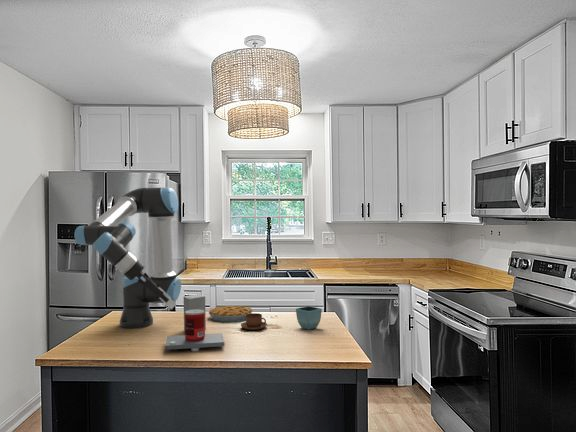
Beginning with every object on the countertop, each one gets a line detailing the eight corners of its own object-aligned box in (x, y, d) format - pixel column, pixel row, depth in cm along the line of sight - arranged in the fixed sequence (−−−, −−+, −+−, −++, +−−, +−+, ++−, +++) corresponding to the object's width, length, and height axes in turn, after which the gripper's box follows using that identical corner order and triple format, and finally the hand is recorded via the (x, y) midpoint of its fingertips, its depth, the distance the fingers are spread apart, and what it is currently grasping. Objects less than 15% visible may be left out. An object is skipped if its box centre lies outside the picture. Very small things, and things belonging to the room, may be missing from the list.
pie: (240, 324, 224) (240, 314, 224) (200, 321, 231) (200, 310, 231) (259, 315, 244) (259, 305, 244) (221, 312, 252) (221, 302, 252)
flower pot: (308, 331, 209) (308, 311, 209) (295, 328, 215) (295, 308, 215) (322, 328, 215) (322, 308, 215) (309, 324, 221) (309, 305, 221)
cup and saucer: (268, 325, 221) (268, 312, 221) (264, 332, 209) (264, 318, 209) (243, 325, 222) (243, 312, 222) (238, 331, 210) (238, 317, 210)
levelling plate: (167, 343, 191) (167, 335, 191) (222, 340, 195) (222, 332, 195) (165, 353, 177) (165, 344, 177) (224, 349, 182) (224, 341, 182)
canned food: (206, 336, 190) (205, 309, 190) (203, 341, 182) (202, 313, 182) (187, 336, 190) (186, 309, 190) (183, 341, 182) (183, 313, 182)
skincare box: (200, 327, 217) (200, 293, 217) (206, 331, 211) (206, 295, 211) (182, 330, 212) (182, 295, 212) (188, 333, 206) (188, 297, 206)
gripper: (121, 270, 187) (160, 304, 193) (124, 278, 164) (168, 317, 170) (135, 256, 189) (173, 291, 195) (140, 262, 166) (183, 301, 172)
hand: (171, 303), depth 182 cm, fingers open, 13 cm apart
